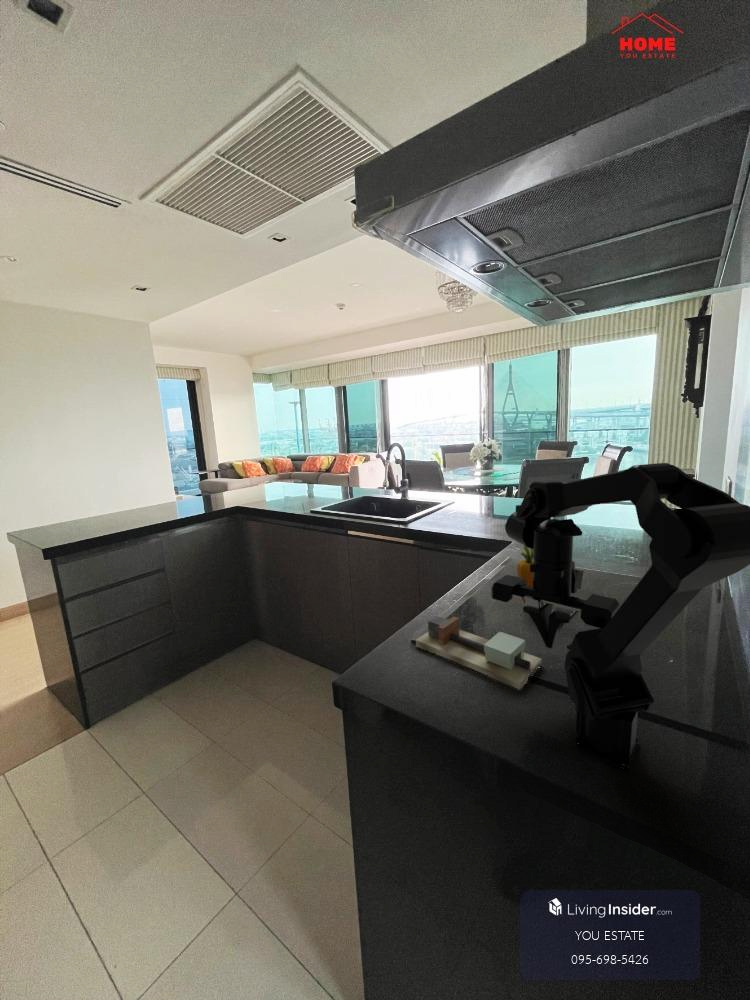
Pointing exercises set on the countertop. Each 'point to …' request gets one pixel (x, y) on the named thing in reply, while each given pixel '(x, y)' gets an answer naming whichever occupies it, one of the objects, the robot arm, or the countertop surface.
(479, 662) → the board
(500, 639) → the pale green slider block
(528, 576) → the carrot
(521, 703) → the countertop surface
